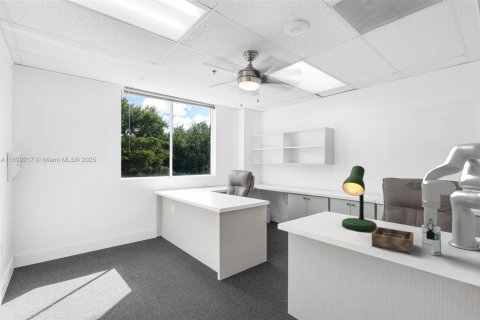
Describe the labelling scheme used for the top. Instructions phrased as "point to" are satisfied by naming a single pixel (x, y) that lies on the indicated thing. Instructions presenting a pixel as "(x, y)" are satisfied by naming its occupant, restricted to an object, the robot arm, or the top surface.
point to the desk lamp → (357, 188)
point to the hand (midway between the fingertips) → (430, 237)
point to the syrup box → (431, 241)
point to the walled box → (393, 239)
